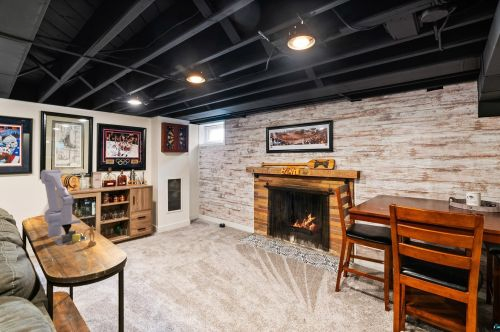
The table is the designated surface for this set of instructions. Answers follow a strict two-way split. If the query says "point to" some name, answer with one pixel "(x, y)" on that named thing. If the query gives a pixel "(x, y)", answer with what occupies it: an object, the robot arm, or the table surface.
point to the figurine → (92, 242)
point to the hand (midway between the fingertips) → (66, 236)
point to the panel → (60, 243)
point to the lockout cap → (75, 237)
